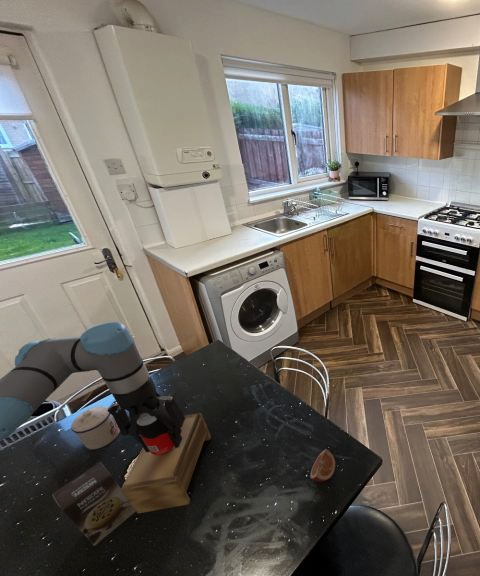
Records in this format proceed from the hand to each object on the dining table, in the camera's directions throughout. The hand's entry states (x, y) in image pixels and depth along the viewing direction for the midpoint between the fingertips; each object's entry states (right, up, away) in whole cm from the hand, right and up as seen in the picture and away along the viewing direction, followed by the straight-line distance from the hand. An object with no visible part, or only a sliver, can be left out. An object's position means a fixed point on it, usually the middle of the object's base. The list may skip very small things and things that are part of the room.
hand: (164, 445), depth 83 cm
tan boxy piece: (0, -10, +6) cm, 12 cm away
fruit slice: (+42, -11, +6) cm, 43 cm away
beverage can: (0, -1, 0) cm, 1 cm away
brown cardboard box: (-10, -16, -5) cm, 20 cm away
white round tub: (-31, -5, +16) cm, 35 cm away
